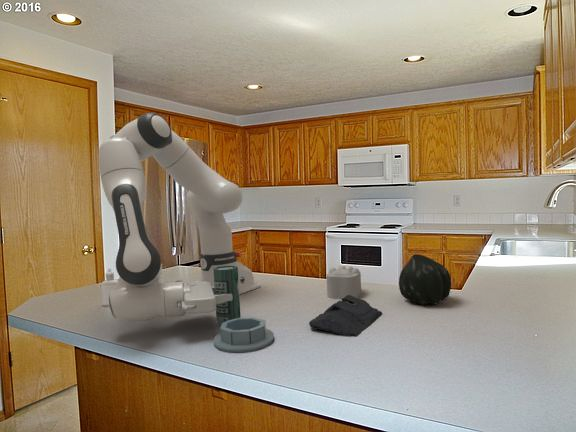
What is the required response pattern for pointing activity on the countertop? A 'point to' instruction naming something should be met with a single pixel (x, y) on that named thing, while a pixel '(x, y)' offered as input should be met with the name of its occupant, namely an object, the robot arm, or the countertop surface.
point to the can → (227, 284)
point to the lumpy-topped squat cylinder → (343, 282)
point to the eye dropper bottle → (107, 287)
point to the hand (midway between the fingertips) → (230, 293)
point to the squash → (424, 280)
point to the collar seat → (243, 335)
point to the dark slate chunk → (347, 317)
